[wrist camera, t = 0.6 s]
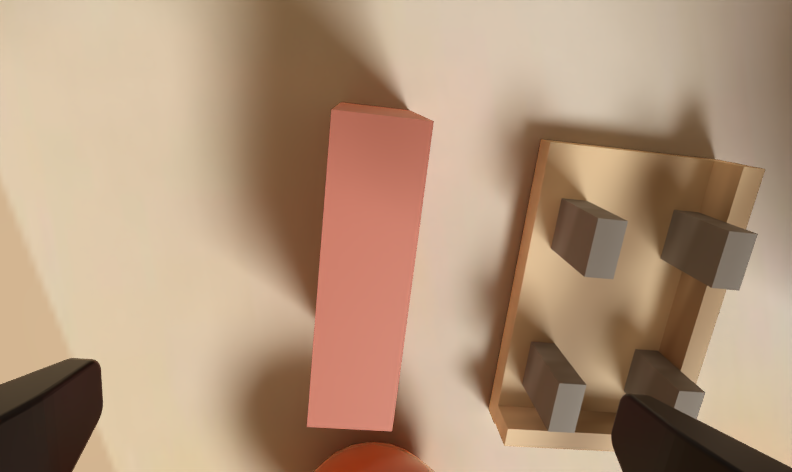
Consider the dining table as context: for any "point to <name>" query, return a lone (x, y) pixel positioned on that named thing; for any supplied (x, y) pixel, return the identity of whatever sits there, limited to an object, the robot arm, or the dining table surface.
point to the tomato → (373, 459)
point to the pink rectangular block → (366, 263)
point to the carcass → (616, 288)
